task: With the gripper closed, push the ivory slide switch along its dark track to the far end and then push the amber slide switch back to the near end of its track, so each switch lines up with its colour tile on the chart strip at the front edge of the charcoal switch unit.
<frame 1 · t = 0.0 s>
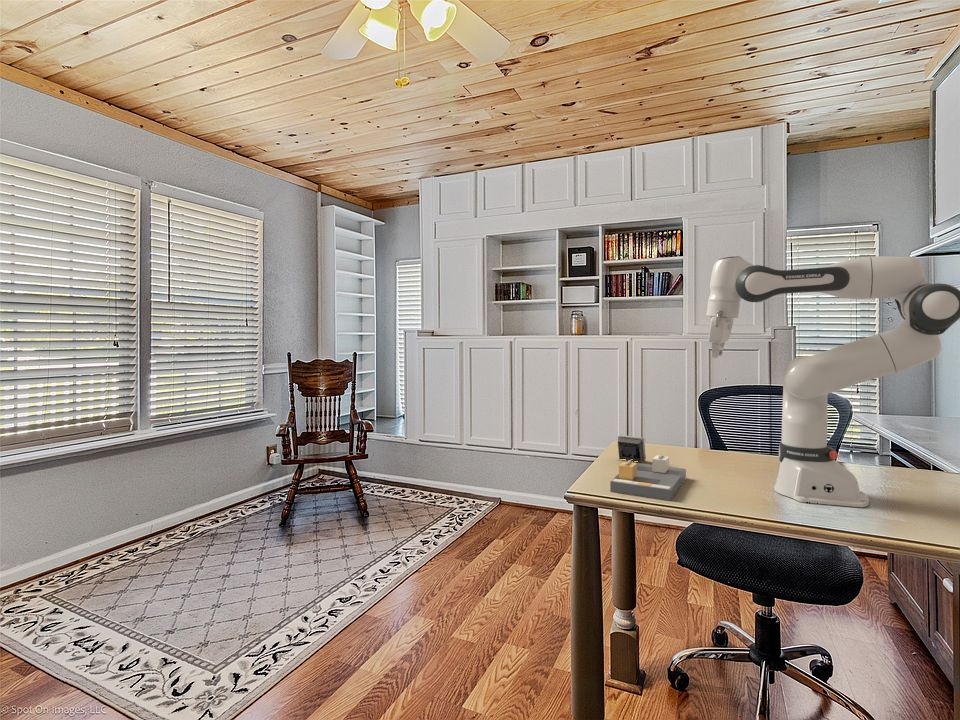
hand: (716, 356, 160), 39 cm above the table, tool pointing down, fingers open, 8 cm apart
ivory slider: (660, 463, 164), point 6 cm above the table, slide at 0.0 cm
switch unit: (649, 484, 161), on the table
amber slider: (627, 469, 158), point 6 cm above the table, slide at 7.0 cm
grey hollow box: (631, 461, 188), on the table
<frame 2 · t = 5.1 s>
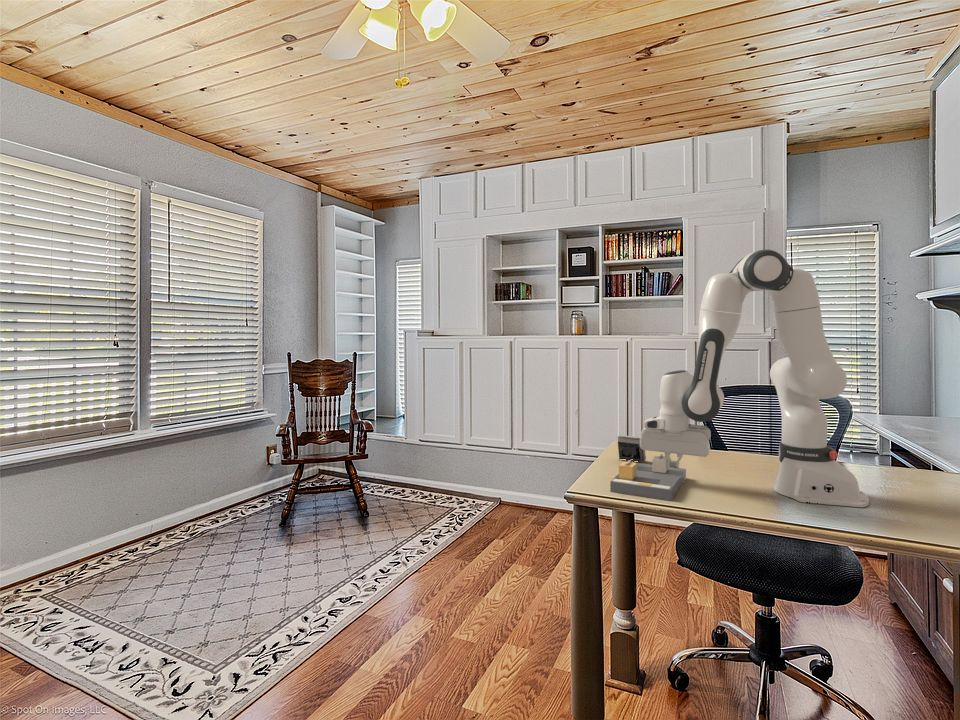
hand: (673, 467, 162), 5 cm above the table, tool pointing down, fingers closed
ivory slider: (660, 463, 164), point 5 cm above the table, slide at 0.0 cm, touching gripper
everything else where it was.
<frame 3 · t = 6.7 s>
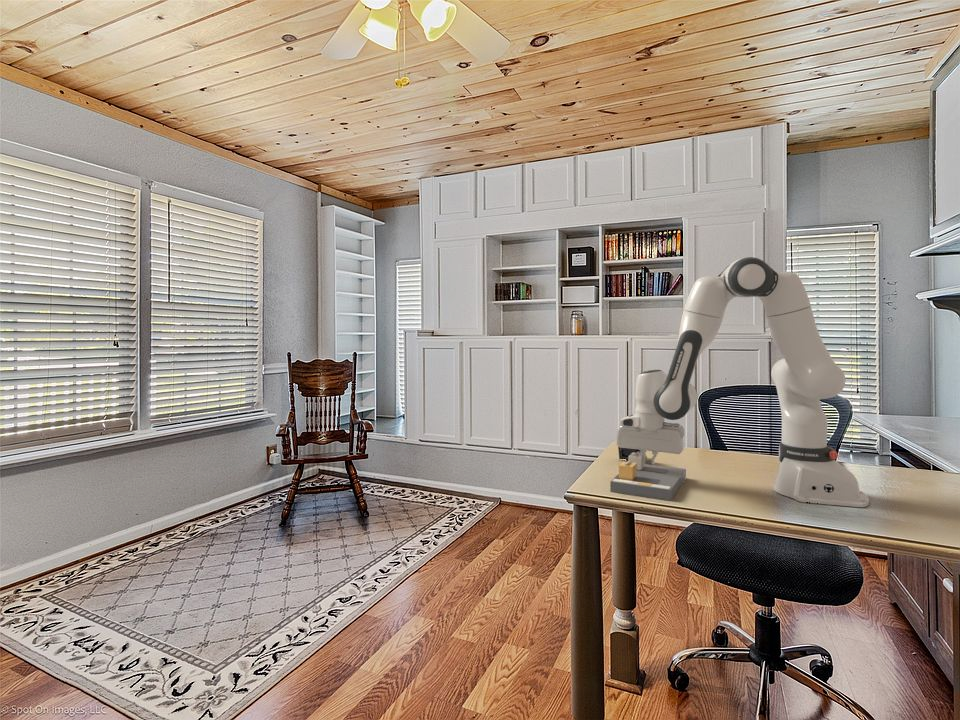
hand: (649, 464, 166), 5 cm above the table, tool pointing down, fingers closed
ivory slider: (636, 460, 168), point 6 cm above the table, slide at 7.4 cm, touching gripper
everything else where it was.
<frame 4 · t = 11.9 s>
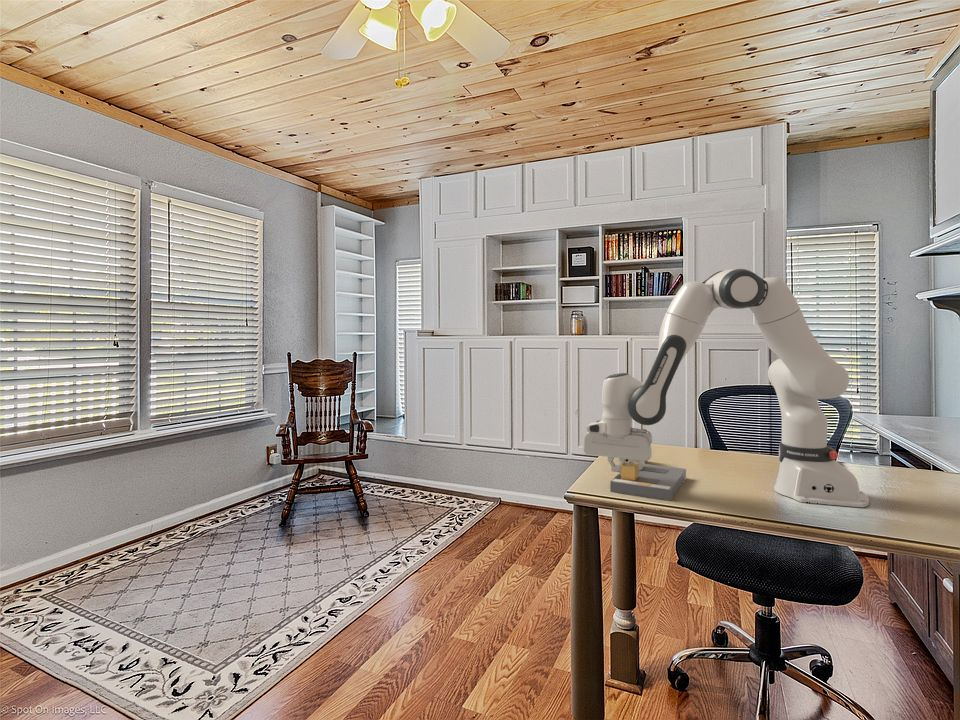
hand: (616, 471, 160), 4 cm above the table, tool pointing down, fingers closed
ivory slider: (636, 460, 168), point 5 cm above the table, slide at 7.5 cm
amber slider: (630, 469, 157), point 6 cm above the table, slide at 6.3 cm, touching gripper
everything else where it was.
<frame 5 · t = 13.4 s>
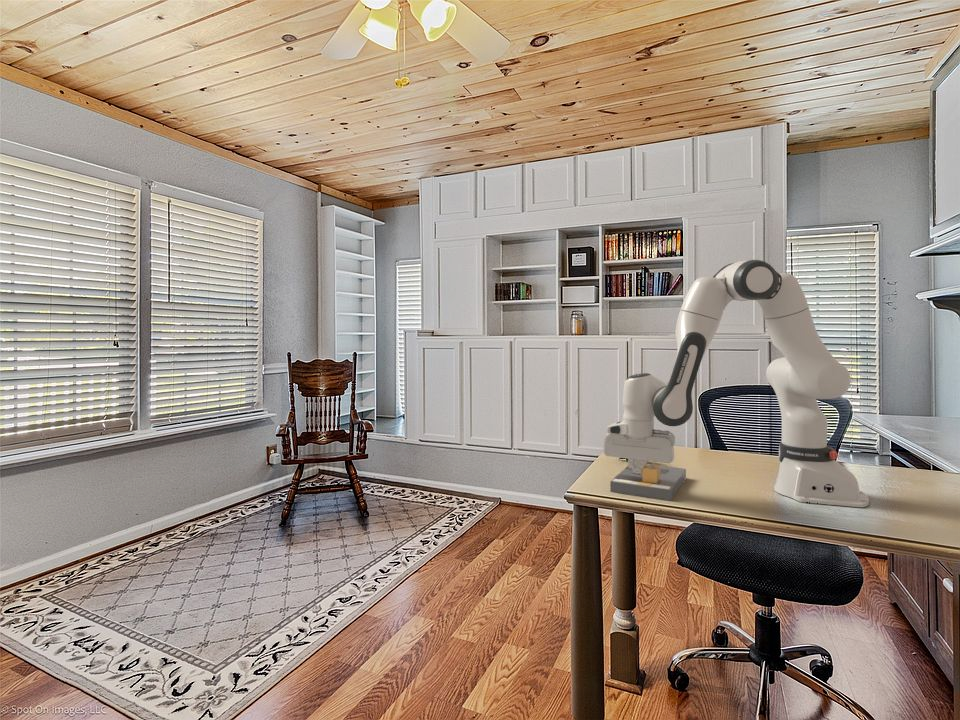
hand: (637, 474, 156), 5 cm above the table, tool pointing down, fingers closed
amber slider: (651, 472, 154), point 6 cm above the table, slide at 0.0 cm, touching gripper
everything else where it was.
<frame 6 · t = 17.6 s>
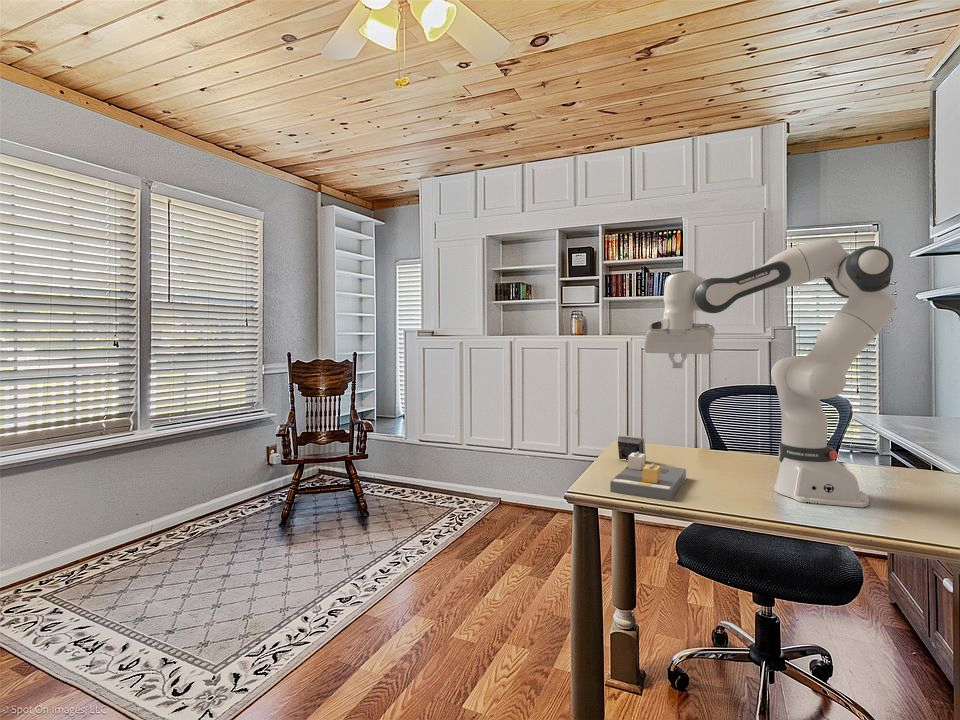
hand: (677, 368, 164), 35 cm above the table, tool pointing down, fingers closed
amber slider: (651, 472, 154), point 6 cm above the table, slide at 0.0 cm
everything else where it was.
at the end: ivory slider slide at 7.5 cm; amber slider slide at 0.0 cm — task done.
